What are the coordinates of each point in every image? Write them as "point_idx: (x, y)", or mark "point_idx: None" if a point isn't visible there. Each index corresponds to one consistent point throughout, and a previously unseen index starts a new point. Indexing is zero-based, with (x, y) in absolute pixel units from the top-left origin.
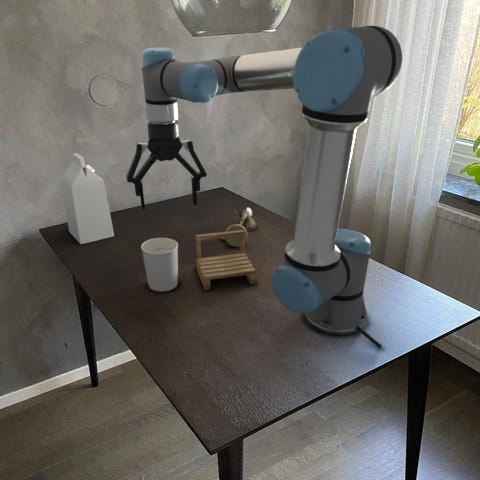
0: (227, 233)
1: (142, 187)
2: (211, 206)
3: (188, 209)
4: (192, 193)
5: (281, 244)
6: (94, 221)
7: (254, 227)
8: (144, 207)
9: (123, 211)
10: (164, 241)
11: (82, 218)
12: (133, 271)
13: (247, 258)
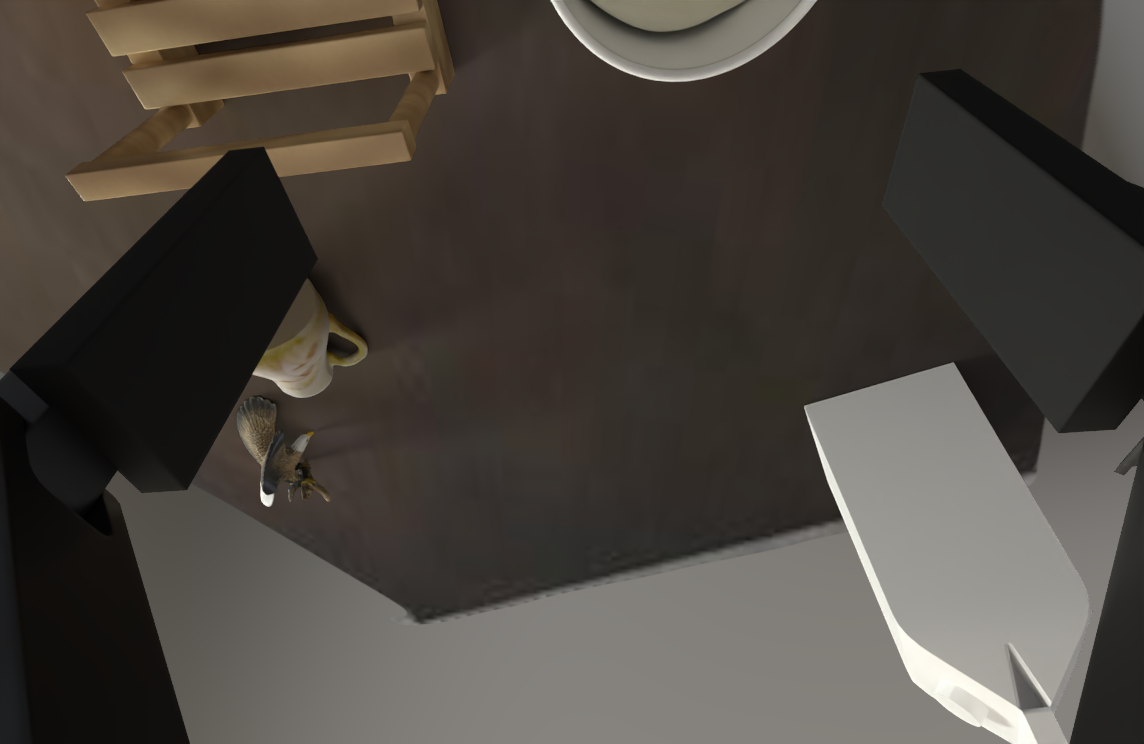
0: (180, 159)
1: (1135, 232)
2: (440, 544)
3: (517, 535)
4: (263, 296)
5: (71, 279)
6: (908, 449)
7: (242, 413)
8: (933, 81)
9: (734, 539)
10: (637, 59)
11: (975, 456)
12: (797, 82)
13: (98, 25)
